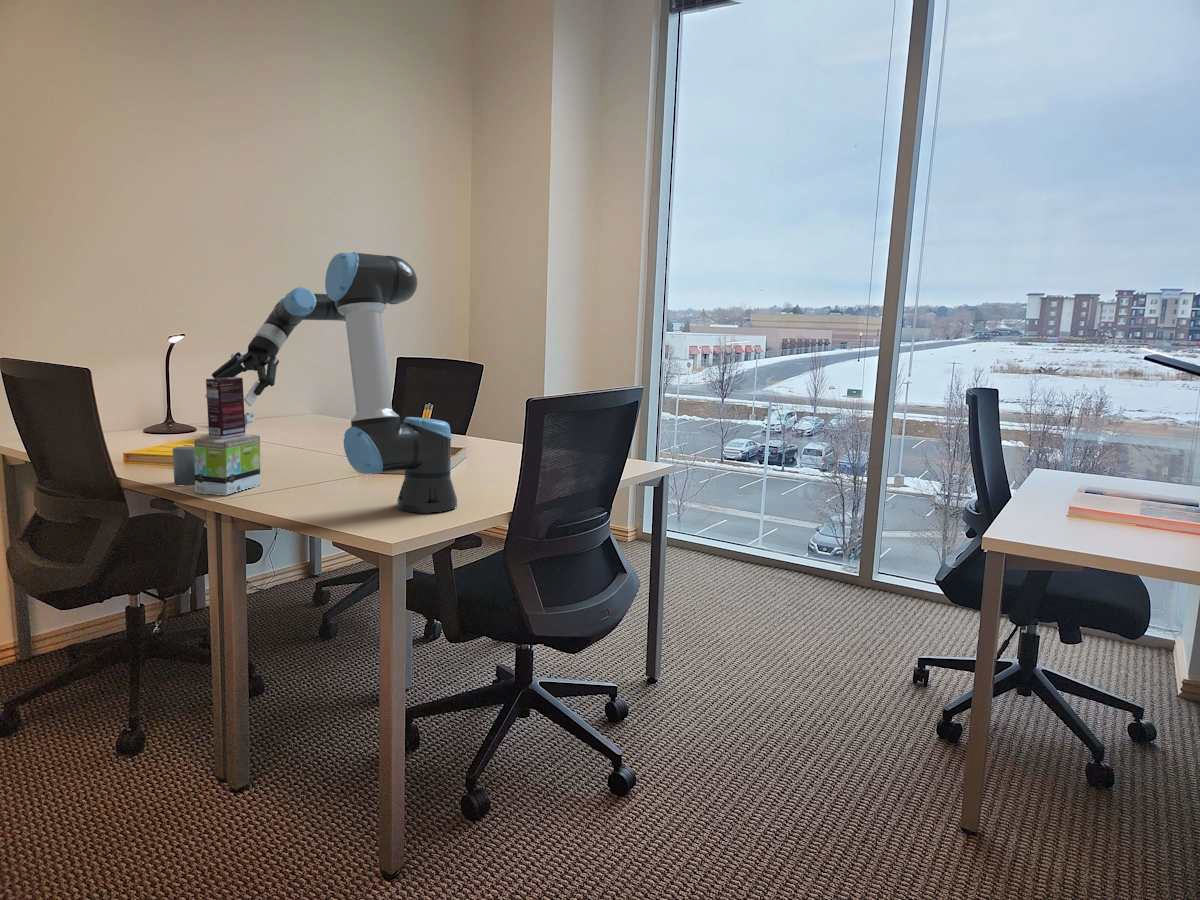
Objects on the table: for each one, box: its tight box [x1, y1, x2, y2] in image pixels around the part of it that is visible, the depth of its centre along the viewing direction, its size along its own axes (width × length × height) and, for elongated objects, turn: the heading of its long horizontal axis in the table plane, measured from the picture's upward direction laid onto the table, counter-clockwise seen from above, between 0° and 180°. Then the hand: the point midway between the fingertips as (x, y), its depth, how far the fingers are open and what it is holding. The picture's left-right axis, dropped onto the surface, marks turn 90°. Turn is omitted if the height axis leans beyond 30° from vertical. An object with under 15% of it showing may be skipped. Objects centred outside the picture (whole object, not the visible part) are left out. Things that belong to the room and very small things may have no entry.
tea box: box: [194, 433, 261, 496], centre depth 227 cm, size 15×10×15 cm
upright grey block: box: [172, 445, 195, 487], centre depth 232 cm, size 7×7×10 cm
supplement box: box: [205, 376, 246, 439], centre depth 224 cm, size 9×5×16 cm, turn 157°
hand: (227, 401), depth 225 cm, fingers open, 13 cm apart
